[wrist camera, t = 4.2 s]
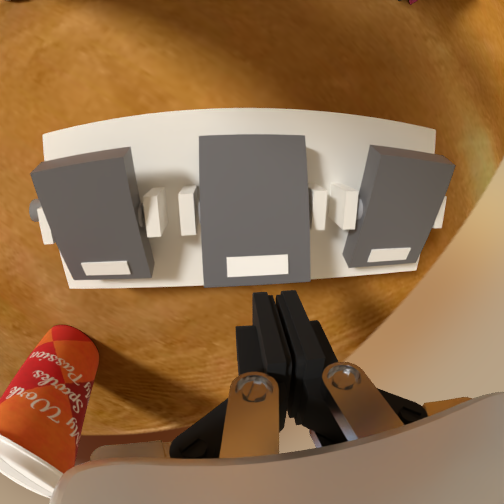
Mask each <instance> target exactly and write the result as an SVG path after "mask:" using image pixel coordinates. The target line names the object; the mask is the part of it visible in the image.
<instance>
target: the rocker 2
mask: <svg viewBox="0 0 504 504" xmlns="http://www.w3.org/2000/svg"><path fill="white" fill-rule="evenodd" d="M455 166H456V165H454V164H453V163H452V162H451V161H449V160H448V159H447V158H446V157H444V156H443V155H438V154H432V153H426V152H420V151H414V150H408V149H401V148H394V147H386V146H378V145H370V146H369V151H368V156H367V160H366V165H365V169H364V174H363V178H362V182H361V186H360V190H359V194H358V204H357V214H356V224H355V229H349V232H348V236H347V239H346V243H345V246H344V250H343V253H342V255H343V257H344V259H345V261H346V263H347V266H348V268H356V267H370V266H383V265H395V264H408V263H416V261H417V259H418V257H419V255H420V253H421V251H422V249H423V247H424V244H425V242H426V240H427V238H428V236H429V233H430V231H431V229H432V226H433V224H434V222H435V219H436V217H437V215H438V212H439V210H440V207H441V205H442V202H443V199H444V197H445V194H446V191H447V189H448V186H449V183H450V180H451V177H452V175H453V172H454V169H455Z"/></svg>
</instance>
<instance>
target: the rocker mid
mask: <svg viewBox="0 0 504 504" xmlns="http://www.w3.org/2000/svg"><path fill="white" fill-rule="evenodd" d="M199 189H200V199H199V202H198V212H199V223H200V224H201V244H202V263H203V280H204V288H207V287H228V286H248V285H265V284H282V283H297V282H311V268H310V219H309V193H308V174H307V157H306V142H305V135H278V134H236V135H207V136H199Z"/></svg>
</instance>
